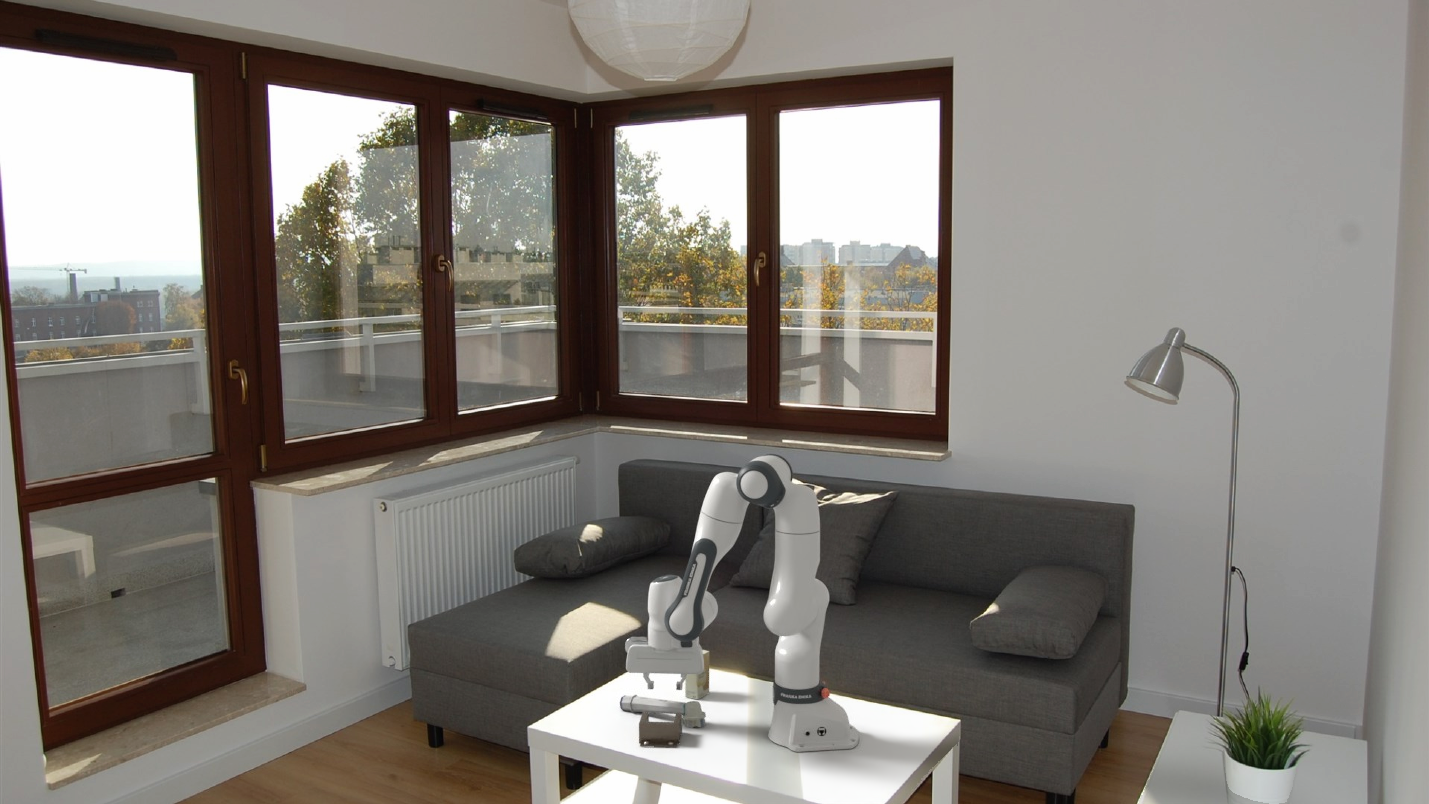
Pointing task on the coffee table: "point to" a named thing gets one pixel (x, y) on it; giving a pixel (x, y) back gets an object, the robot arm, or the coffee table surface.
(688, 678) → the skincare box
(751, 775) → the coffee table surface
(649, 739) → the bracket
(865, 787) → the coffee table surface
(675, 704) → the white handheld device
